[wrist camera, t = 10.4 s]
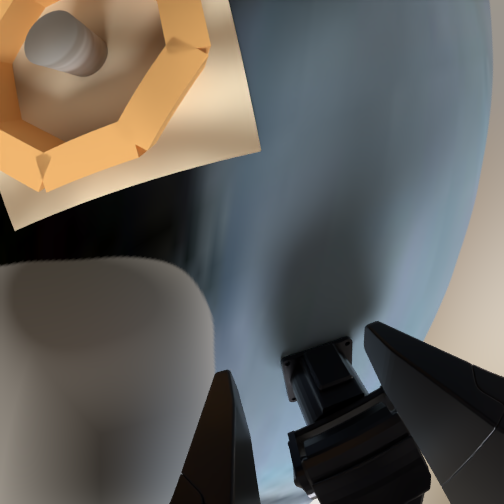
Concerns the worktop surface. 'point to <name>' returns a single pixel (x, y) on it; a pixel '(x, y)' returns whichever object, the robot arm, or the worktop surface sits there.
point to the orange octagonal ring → (111, 136)
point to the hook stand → (124, 96)
